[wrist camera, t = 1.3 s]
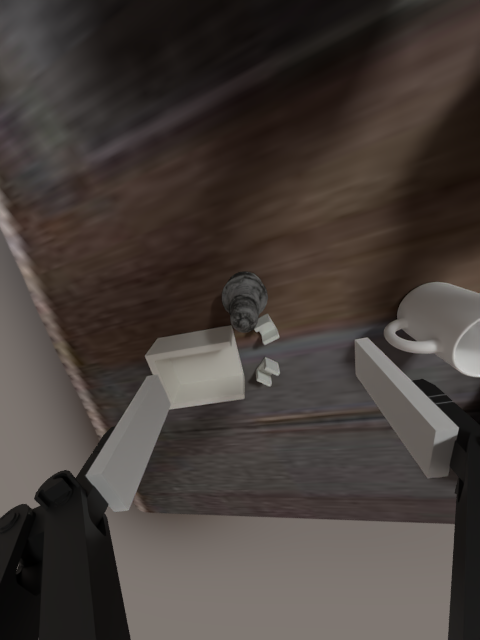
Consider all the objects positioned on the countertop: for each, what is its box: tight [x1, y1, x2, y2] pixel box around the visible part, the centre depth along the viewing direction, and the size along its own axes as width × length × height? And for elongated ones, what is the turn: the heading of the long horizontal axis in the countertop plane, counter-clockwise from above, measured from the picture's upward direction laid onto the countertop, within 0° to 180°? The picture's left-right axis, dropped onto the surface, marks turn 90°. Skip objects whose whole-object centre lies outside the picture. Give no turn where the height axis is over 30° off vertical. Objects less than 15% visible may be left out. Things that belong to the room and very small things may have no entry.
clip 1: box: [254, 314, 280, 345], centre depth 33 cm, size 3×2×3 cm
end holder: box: [145, 325, 245, 409], centre depth 35 cm, size 10×12×5 cm
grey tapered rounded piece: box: [222, 272, 268, 332], centre depth 27 cm, size 6×6×12 cm
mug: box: [384, 282, 480, 377], centre depth 28 cm, size 12×8×10 cm
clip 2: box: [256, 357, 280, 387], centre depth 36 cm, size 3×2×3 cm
